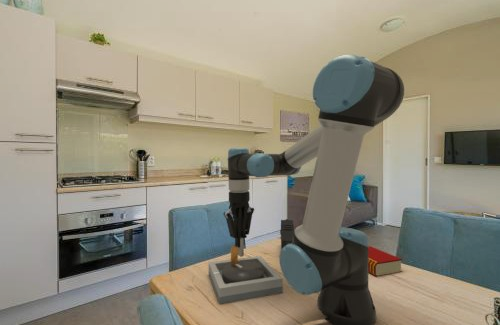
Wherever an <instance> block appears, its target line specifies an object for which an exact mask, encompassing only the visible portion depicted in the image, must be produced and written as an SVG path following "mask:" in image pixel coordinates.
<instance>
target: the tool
mask: <svg viewBox="0 0 500 325" xmlns="http://www.w3.org/2000/svg"><path fill="white" fill-rule="evenodd" d="M279 231H280V233H279V235H280V248H281V249H280V251H281V250H282V248H283V247H285V246H286V245H287V244H292V241H293V236H294V232H295V226H294V220H293V219H287V218H286V219H280V230H279Z"/></svg>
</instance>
